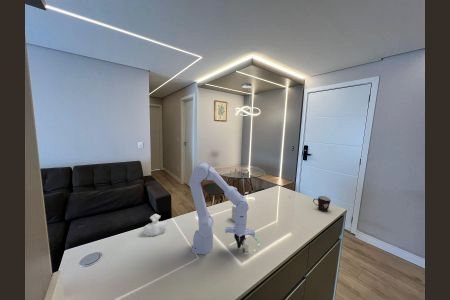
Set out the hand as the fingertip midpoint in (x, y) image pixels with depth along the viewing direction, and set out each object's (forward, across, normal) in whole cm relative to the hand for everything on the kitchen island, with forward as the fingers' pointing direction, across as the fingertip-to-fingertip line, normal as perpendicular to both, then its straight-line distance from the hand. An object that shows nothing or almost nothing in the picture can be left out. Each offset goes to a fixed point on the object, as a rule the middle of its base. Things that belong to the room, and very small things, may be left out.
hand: (239, 246), depth 83 cm
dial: (+2, +2, +6) cm, 7 cm away
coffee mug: (+2, +61, +57) cm, 84 cm away
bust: (+2, -48, +5) cm, 48 cm away
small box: (+2, -2, +26) cm, 27 cm away
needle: (+1, +2, +3) cm, 4 cm away
